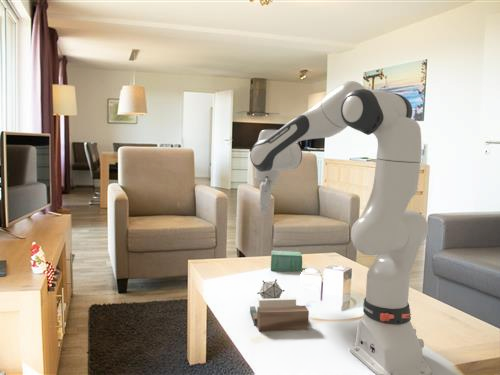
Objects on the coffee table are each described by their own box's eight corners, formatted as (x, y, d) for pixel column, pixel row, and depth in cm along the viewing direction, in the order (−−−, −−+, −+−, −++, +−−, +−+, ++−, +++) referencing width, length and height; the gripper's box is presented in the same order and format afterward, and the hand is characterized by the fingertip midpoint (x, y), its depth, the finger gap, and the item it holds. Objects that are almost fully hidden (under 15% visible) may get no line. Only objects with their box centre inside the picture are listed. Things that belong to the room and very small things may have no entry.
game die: (274, 314, 161) (281, 298, 154) (252, 304, 162) (258, 287, 155) (282, 295, 167) (289, 279, 161) (260, 285, 168) (267, 269, 162)
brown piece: (310, 329, 140) (311, 310, 139) (256, 331, 138) (256, 312, 137) (299, 310, 155) (299, 293, 154) (250, 312, 153) (250, 294, 152)
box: (302, 272, 199) (302, 255, 198) (270, 271, 199) (271, 254, 198) (300, 267, 206) (301, 250, 205) (270, 266, 206) (270, 250, 206)
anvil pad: (295, 314, 150) (296, 299, 149) (259, 315, 148) (259, 300, 148) (294, 311, 152) (294, 297, 151) (258, 312, 150) (258, 298, 150)
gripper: (276, 180, 154) (272, 220, 157) (275, 170, 174) (271, 206, 177) (257, 178, 154) (254, 218, 157) (258, 169, 174) (255, 204, 177)
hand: (263, 211), depth 167 cm, fingers open, 8 cm apart
